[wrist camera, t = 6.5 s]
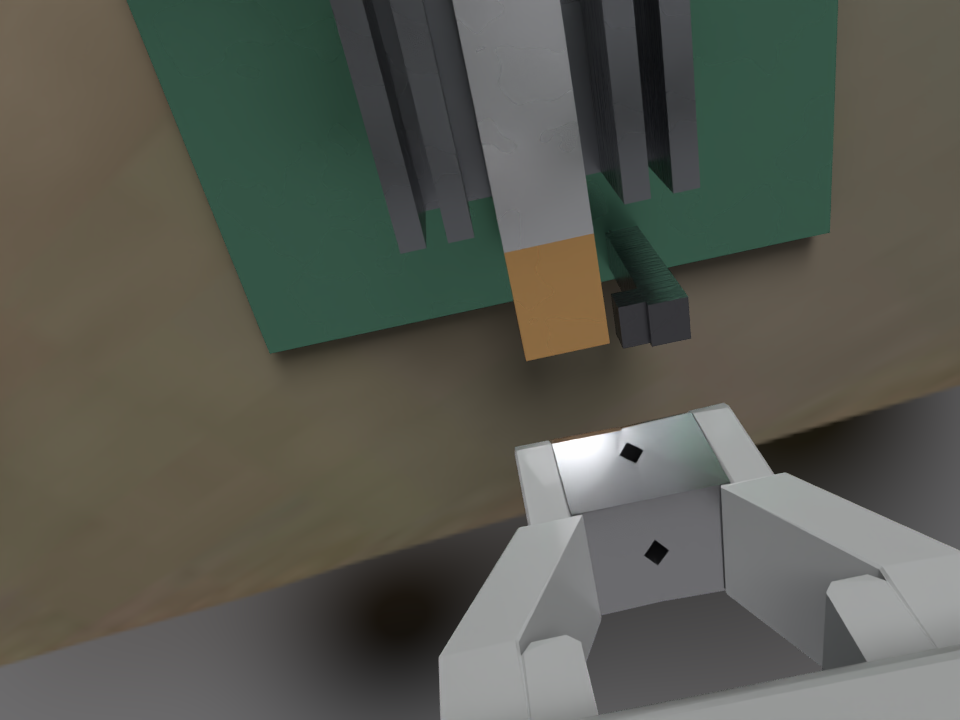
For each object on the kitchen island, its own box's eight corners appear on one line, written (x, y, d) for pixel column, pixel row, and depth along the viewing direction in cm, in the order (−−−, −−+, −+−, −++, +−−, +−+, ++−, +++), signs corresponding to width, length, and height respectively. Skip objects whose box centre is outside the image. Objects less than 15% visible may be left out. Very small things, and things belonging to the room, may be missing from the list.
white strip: (510, 345, 21) (515, 368, 19) (377, -286, 14) (371, -311, 13) (612, 323, 20) (624, 345, 19) (520, -321, 14) (529, -351, 13)
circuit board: (275, 338, 25) (233, 459, 19) (34, -269, 17) (-156, -362, 11) (815, 221, 24) (933, 311, 19) (832, -474, 16) (1051, -681, 11)
